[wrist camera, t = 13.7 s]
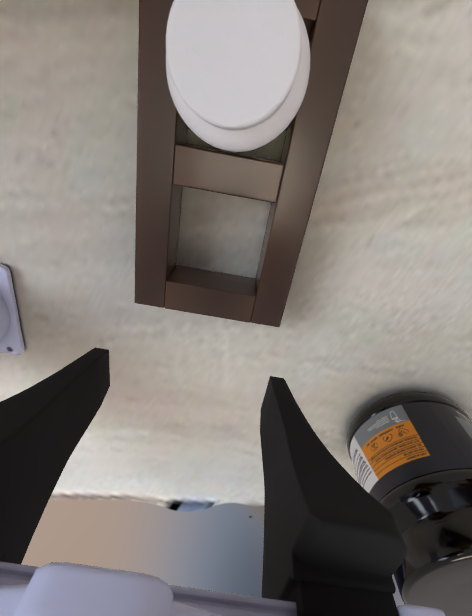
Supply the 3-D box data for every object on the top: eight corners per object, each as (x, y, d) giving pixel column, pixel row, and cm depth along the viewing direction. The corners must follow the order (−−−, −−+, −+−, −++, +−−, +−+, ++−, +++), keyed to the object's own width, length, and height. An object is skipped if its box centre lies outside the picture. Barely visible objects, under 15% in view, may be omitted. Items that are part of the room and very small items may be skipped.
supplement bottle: (181, 123, 18) (118, 104, 10) (217, 11, 16) (176, -142, 7) (263, 165, 19) (271, 182, 11) (308, 65, 17) (368, -16, 8)
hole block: (147, 285, 23) (134, 303, 21) (159, -44, 15) (139, -83, 13) (276, 307, 24) (279, 327, 21) (356, -3, 15) (377, -33, 13)
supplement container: (319, 430, 29) (357, 591, 19) (417, 364, 25) (535, 521, 15) (389, 480, 32) (456, 644, 22) (486, 428, 28) (627, 598, 18)
